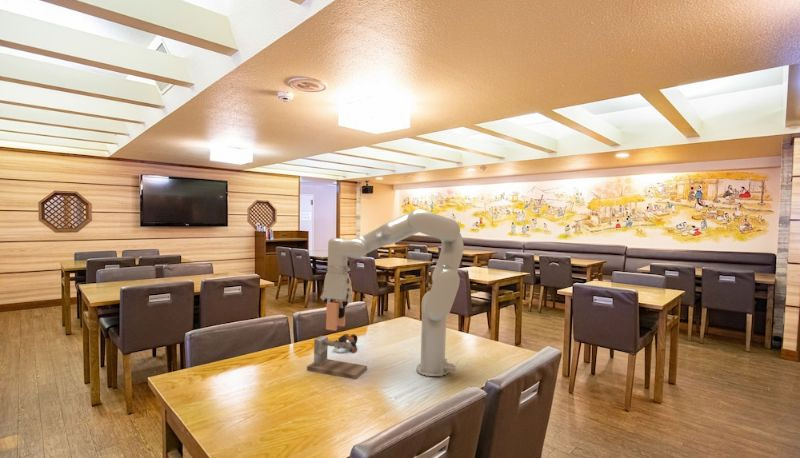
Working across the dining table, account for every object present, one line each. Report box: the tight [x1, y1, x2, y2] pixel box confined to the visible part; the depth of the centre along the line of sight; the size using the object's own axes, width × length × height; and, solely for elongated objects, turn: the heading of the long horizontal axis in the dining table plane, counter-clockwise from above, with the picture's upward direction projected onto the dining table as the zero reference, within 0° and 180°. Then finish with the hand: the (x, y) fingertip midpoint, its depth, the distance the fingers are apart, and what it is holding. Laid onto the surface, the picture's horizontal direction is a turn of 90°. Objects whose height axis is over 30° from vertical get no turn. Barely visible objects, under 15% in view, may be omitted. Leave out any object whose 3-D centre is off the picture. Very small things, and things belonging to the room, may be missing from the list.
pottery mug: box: [334, 333, 358, 354], centre depth 173 cm, size 12×10×8 cm
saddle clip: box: [325, 300, 347, 332], centre depth 149 cm, size 4×8×10 cm, turn 160°
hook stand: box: [306, 335, 368, 380], centre depth 149 cm, size 21×10×12 cm, turn 70°
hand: (336, 316), depth 149 cm, fingers closed on saddle clip, 4 cm apart
